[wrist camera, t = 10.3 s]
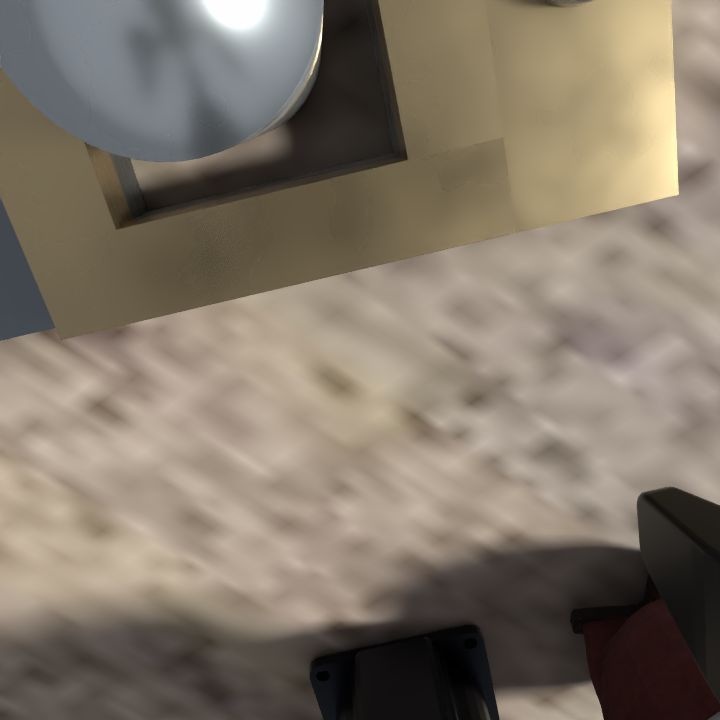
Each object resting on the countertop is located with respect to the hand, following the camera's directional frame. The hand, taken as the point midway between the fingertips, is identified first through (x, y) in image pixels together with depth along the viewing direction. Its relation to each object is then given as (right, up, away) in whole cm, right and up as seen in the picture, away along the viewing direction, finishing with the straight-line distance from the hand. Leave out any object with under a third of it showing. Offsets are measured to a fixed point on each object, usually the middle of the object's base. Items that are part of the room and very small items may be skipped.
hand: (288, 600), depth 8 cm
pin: (-2, +11, +8) cm, 14 cm away
